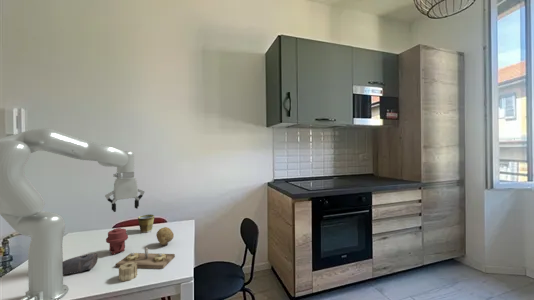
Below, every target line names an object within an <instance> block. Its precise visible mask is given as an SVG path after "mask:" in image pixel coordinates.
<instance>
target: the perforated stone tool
mask: <svg viewBox="0 0 534 300" xmlns="http://www.w3.org/2000/svg"><path fill="white" fill-rule="evenodd" d="M98 259H99V258H98V254H97V253H90V254H82V255H79V256H74V257H72V258H69V259H65V260H64V261H63V275H69V274H78V273H83V272H85V271H90V270H92V269H93V268H94V267H95V266H96V265H97V263H98Z"/></svg>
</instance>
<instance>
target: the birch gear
mask: <svg viewBox="0 0 534 300" xmlns="http://www.w3.org/2000/svg"><path fill="white" fill-rule="evenodd" d="M137 275H138V268H137V263H134V262H130V263H125V264H123V265H120V267H118V281H121V282H128V281H132V280H133V279H136V278H137Z"/></svg>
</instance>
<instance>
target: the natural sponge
mask: <svg viewBox="0 0 534 300" xmlns="http://www.w3.org/2000/svg"><path fill="white" fill-rule="evenodd" d="M155 237H156V239H157V241H158V243H159V245H162V246H165V245H167V244H168V243H170V242H171V241H172V240H173V239H174V232H173V230H172V229H171V228H170V227H166V226H164V227H161V228H159V229H158V230H157V232H156V236H155Z"/></svg>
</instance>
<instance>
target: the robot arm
mask: <svg viewBox="0 0 534 300" xmlns="http://www.w3.org/2000/svg"><path fill="white" fill-rule="evenodd" d="M39 151H40V152H48V153H52V154H54V155H55V154H56V155H60V156H63V157H67V158H70V159H75V160H80V161H81V160H82V161H90V162H91V161H92V162H97V163H98V165H100V166H103V167H111V168H115V167H116V173H113V175H112V176H113V177H114V178H115V179H114V183H113V190H112V191H110V192H108V193H106V194H104V197H105V198H106V200H107V201H108V202H109V203H110V204H111V211H112V212H113V213H115V212H117V203H116V202H117V201H118V200H128V199H135V200H134V209H136V210H138V209H139V208H138V207H140V200H141V199H142V197H143V196H144V194H145V190H143V189H139V188H138V182H137V181H138V180H137V178H136V177H135V153H134V152H133V151H131V150H129V151H128V150H122V149H118V148H116V147H114V146H109V145H105V144H102V143H98V142H94V141H91V140H86V139H82V138H80V137H77V136H73V135H70V134H67V133H65V132H62V131H59V130H56V129H53V128H33V129H28V130H25V131H22V132H18V133H15V134H12V135H8V136H5V137H2V138H0V216H1V217H2V218H3V219H4V220H5V221H6V222H7V224H8V225H10V227H11V228H12V229H14V231H15V232H16V233H18V234H20V235H22V236H25V237H28V238H29V237H30V239H31V240H30V243H29V246H28V250H27V260H28V261H27V263H28V264H27V265H28V268H27V269H28V272H27V273H28V274H27V275H28V278H27V279H28V290H27V291H25V295H24V296H23V297H22V298H21V299H19V300H56V299H57V300H59V299H61V298H63V297H64V296H65V295H66V294H67V293H68V291H69V286H68V285H67V284H64V274H63V259H64V258H63V255H64V254H63V240H64V232H65V229H66V221H65V219H64V218H63V216H62V215H60V214H58V213H56V212H51V211H43V209H44V208H45V204H46V203H45V199H44V198H43V196H42V194H41V193H40V192H39V191H38V190H37V189H36V187H35V186H34V185H33V183H32V182H31V181H30V179H29V178H28V177H27V175H26V173H25V167H26V164H27V162H28V160H29V159H30V157H31V154H33V153H36V152H39ZM110 196H113V198H112V199H111V197H110Z"/></svg>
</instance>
